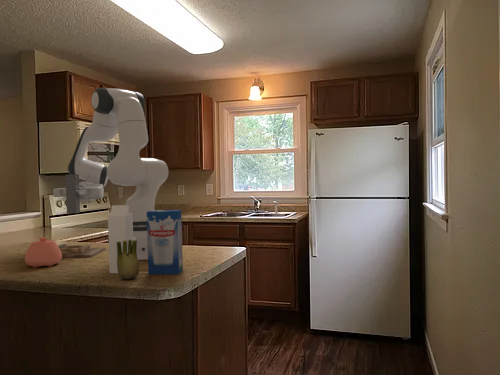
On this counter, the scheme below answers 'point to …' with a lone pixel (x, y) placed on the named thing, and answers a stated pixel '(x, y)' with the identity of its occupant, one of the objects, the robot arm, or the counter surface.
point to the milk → (118, 232)
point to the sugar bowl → (43, 253)
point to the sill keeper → (79, 251)
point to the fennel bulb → (127, 260)
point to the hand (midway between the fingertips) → (72, 192)
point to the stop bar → (72, 194)
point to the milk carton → (164, 242)
